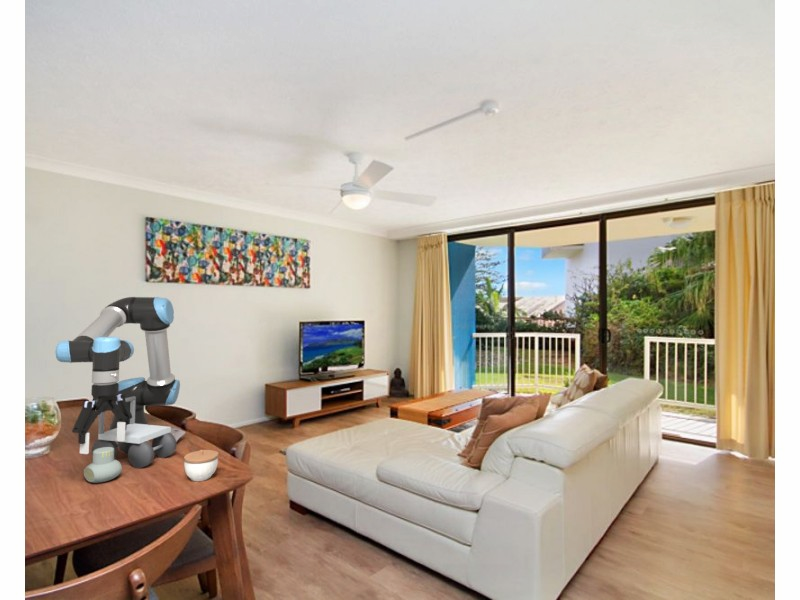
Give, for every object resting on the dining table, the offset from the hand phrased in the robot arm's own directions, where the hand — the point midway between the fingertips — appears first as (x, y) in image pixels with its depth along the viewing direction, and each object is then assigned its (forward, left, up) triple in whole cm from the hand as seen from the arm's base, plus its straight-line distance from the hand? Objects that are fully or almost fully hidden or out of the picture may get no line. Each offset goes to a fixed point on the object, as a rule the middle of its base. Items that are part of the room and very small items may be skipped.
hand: (103, 447), depth 144 cm
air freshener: (0, 0, -11) cm, 11 cm away
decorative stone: (-39, -9, -11) cm, 42 cm away
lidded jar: (-10, +30, -11) cm, 33 cm away
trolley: (-18, -5, -11) cm, 22 cm away
